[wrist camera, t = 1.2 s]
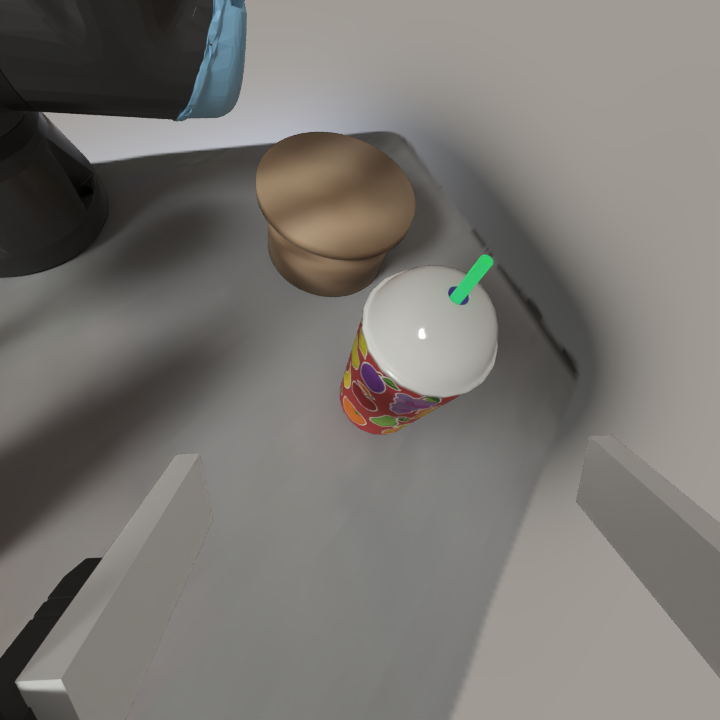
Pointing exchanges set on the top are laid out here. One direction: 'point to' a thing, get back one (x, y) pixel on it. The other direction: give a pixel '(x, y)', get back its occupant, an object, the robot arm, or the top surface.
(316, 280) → the tan muffin-shaped cylinder
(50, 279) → the top surface
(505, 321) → the top surface
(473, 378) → the smoothie
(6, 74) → the robot arm
